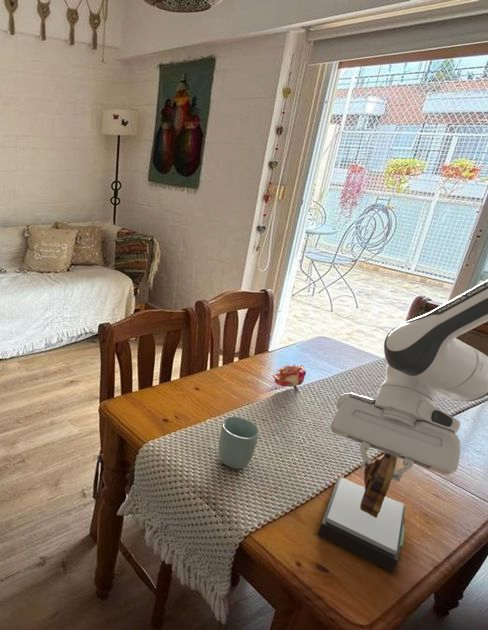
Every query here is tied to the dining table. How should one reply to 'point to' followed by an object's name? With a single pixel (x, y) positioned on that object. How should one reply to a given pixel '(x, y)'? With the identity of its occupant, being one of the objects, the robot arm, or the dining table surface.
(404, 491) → the dining table surface
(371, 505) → the wooden carving
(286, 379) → the flower
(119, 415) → the dining table surface
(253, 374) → the dining table surface
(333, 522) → the kitchen scale
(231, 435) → the cup
